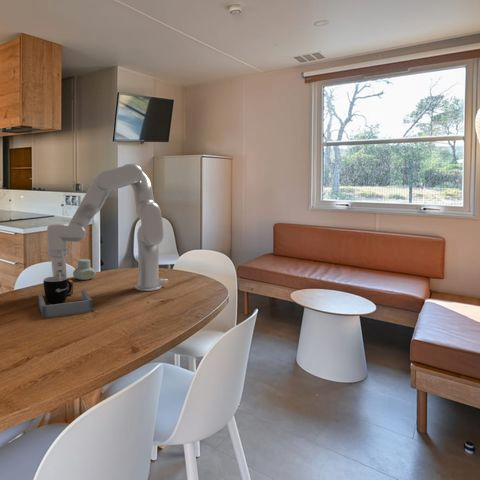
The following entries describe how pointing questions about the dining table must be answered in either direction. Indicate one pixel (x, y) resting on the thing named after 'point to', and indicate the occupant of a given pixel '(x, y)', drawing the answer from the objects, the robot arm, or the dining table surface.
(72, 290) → the light brown rectangular block
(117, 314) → the dining table surface
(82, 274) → the air freshener
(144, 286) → the robot arm
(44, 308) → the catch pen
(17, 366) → the dining table surface
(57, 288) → the mug
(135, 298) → the dining table surface
